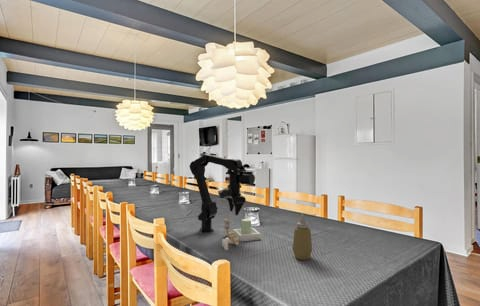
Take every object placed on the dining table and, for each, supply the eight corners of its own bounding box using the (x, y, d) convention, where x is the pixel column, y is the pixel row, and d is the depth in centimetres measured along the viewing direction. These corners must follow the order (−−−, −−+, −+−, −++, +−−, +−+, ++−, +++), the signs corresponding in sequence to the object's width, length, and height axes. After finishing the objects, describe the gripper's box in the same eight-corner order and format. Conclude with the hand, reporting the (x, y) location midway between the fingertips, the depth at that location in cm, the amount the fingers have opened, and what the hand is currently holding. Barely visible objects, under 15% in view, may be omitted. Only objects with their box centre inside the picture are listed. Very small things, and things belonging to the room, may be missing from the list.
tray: (233, 235, 144) (233, 229, 143) (252, 233, 147) (252, 227, 147) (239, 241, 133) (239, 235, 133) (260, 239, 137) (260, 233, 137)
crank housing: (218, 240, 135) (218, 234, 135) (236, 238, 138) (236, 232, 138) (225, 250, 121) (225, 243, 121) (246, 247, 125) (246, 241, 125)
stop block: (240, 234, 141) (240, 219, 141) (248, 234, 143) (248, 218, 142) (243, 237, 137) (243, 221, 137) (250, 236, 139) (250, 220, 139)
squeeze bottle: (297, 262, 109) (298, 217, 109) (289, 254, 117) (289, 212, 117) (315, 260, 111) (316, 216, 111) (306, 253, 119) (306, 211, 119)
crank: (240, 244, 125) (240, 229, 125) (234, 244, 124) (234, 230, 124) (228, 230, 146) (228, 218, 146) (222, 231, 145) (223, 219, 145)
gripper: (215, 181, 149) (214, 209, 149) (224, 186, 131) (223, 218, 131) (234, 181, 152) (234, 209, 152) (246, 185, 135) (245, 217, 135)
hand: (233, 213), depth 143 cm, fingers open, 9 cm apart
